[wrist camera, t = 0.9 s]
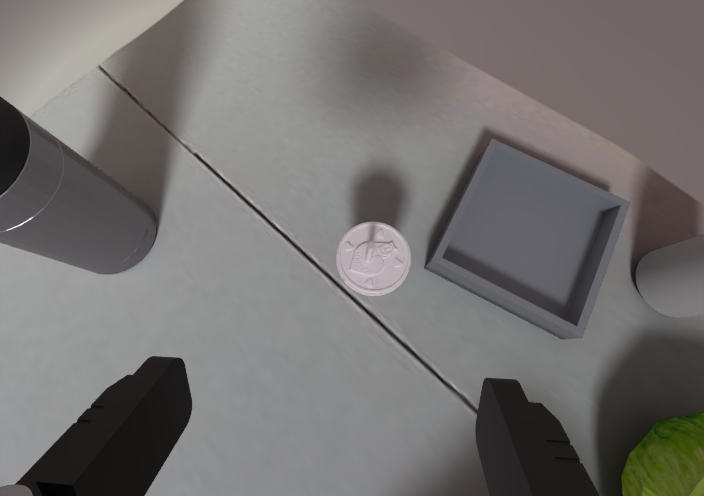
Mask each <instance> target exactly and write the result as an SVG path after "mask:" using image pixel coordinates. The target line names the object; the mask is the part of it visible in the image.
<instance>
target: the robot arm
mask: <svg viewBox="0 0 704 496" xmlns="http://www.w3.org/2000/svg"><path fill="white" fill-rule="evenodd" d="M155 237H156V220H155V218H154V215H153V213H152V211H151V210H150V208H149V207H148V206H147V205H146V204H145V203H144V202H143V201H141V200H140V199H138V198H137V197H136V196H134V195H133V194H132V193H130V192H129V191H128V190H126V189H125V188H124V187H123V186H121V185H120V184H118V183H117V182H116V181H114V180H113V179H112V178H110V177H109V176H108V175H106V174H105V173H104V172H102V171H101V170H99V169H98V168H97V167H95V166H94V165H93V164H91V163H90V162H89V161H87V160H86V159H84V158H83V157H82V156H80V155H79V154H78V153H76V152H75V151H74V150H72V149H71V148H70V147H68V146H67V145H65V144H64V143H63V142H61V141H60V140H59V139H57V138H56V137H55V136H53V135H52V134H51V133H49V132H48V131H46V130H45V129H43V128H42V127H41V126H39V125H38V124H37V123H35V122H34V121H33V120H31V119H30V118H29V117H27V116H26V115H24V114H23V113H22V112H20V111H19V110H18V109H16V108H15V107H14V106H13V105H11V104H10V103H8V102H7V101H6V100H4V99H3V98H2V97H0V243H3V244H6V245H9V246H12V247H16V248H19V249H22V250H25V251H28V252H31V253H35V254H38V255H41V256H44V257H47V258H51V259H54V260H57V261H60V262H63V263H66V264H69V265H72V266H76V267H79V268H82V269H85V270H89V271H92V272H95V273H98V274H115V273H119V272H122V271H126V270H128V269H129V268H131V267H133V266H135V265H136V264H137V263H139V262H140V261H141V260H142V259H143V258H144V257H145V256H146V255H147V254H148V252H149V250H150V249H151V247H152V245H153V243H154V240H155ZM191 411H192V398H191V393H190V388H189V383H188V378H187V373H186V368H185V364H184V361H183V360H182V359H181V358H174V357H158V356H152V357H150V358H148V359H147V360H146V361H145V362H144V363H143V364H142V366H141V367H140V368H139V369H138V370H137V371H136V372H135V373H134V374H133V375H127V376H125V377H124V378H122V379H121V380H119V381H118V382H116V383H115V384H113V385H112V386H110V387H108V388H107V389H106V390H105V391H104V392H103V393H102V394H101V395H100V396H99V397H98V398H97V399H96V401H95V402H94V403H93V404H92V405H91V408H90V409H87V410H86V411H85V412H84V413H83V414H82V415H81V416H80V417H79V418H78V421H77V423H74V424H73V425H72V426H71V427H70V428H69V429H68V430H67V431H66V432H65V433H64V434H63V435H62V436H61V437H60V438H59V439H58V440H57V441H56V442H55V443H54V444H53V445H52V447H51V448H50V449H49V450H48V451H47V452H46V453H45V454H44V455H43V456H42V457H41V458H40V459H39V460H38V461H37V462H36V463H35V464H34V465H33V466H32V467H31V468H30V470H29V471H28V472H27V473H26V474H25V475H24V476H23V477H22V478H21V479H20V480H19V481H18V482H17V483H16V484H15V485H7V486H2V487H0V496H145V494H146V492H147V491H148V489H149V487H150V486H151V484H152V482H153V481H154V479H155V477H156V476H157V474H158V472H159V471H160V469H161V467H162V466H163V464H164V462H165V461H166V459H167V457H168V456H169V454H170V452H171V451H172V449H173V448H174V446H175V444H176V443H177V441H178V439H179V438H180V436H181V434H182V433H183V431H184V429H185V428H186V426H187V424H188V422H189V419H190V416H191ZM476 442H477V448H478V452H479V456H480V459H481V463H482V467H483V471H484V475H485V478H486V482H487V486H488V490H489V493H490V496H599V494H598V492H597V490H596V488H595V487H594V485H593V483H592V481H591V479H590V477H589V475H588V474H587V472H586V470H585V468H584V466H583V464H582V463H580V461H579V457H578V455H577V453H576V451H575V450H574V448H573V446H572V445H570V440H569V439H568V437H567V435H566V433H565V431H564V429H563V427H562V426H561V424H560V422H559V420H558V419H557V418H556V417H555V416H553V415H552V414H551V413H550V412H549V411H548V410H547V409H546V408H545V407H544V406H543V405H542V404H541V403H532V402H528V400H527V398H526V396H525V394H524V391H523V389H522V387H521V385H520V383H519V382H518V381H517V380H514V379H498V378H485V379H484V382H483V386H482V391H481V397H480V403H479V408H478V414H477V419H476Z"/></svg>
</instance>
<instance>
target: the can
mask: <svg viewBox="0 0 704 496" xmlns="http://www.w3.org/2000/svg"><path fill="white" fill-rule="evenodd" d="M636 284H637V287H638V289H639V292H640V294H641V295H642V297H643V298H644V300H645V301H646V302H647V304H649V305H650V306H651V307H652V308H653V309H655V310H656V311H657V312H659V313H662V314H664V315H666V316H669V317H676V318H684V317H694V316H704V234H702V235H699V236H696V237H693V238H690V239H687V240H684V241H681V242H678V243H675V244H672V245H669V246H666V247H663V248H660V249H657V250H654V251H651V252H649V253H648V254H646V255H644V256H643V258H642V259H641V260H640V261H639V263H638V266H637V269H636Z"/></svg>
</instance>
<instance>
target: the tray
mask: <svg viewBox="0 0 704 496" xmlns="http://www.w3.org/2000/svg"><path fill="white" fill-rule="evenodd" d="M629 205H630V202H629V201H627V200H624V199H622V198H620V197H618V196H616V195H614V194H611V193H609V192H607V191H605V190H603V189H601V188H598V187H596V186H594V185H592V184H590V183H588V182H585V181H583V180H581V179H579V178H577V177H575V176H573V175H570V174H568V173H566V172H564V171H562V170H560V169H557V168H555V167H553V166H551V165H549V164H547V163H544V162H542V161H540V160H538V159H536V158H534V157H531V156H529V155H527V154H525V153H523V152H521V151H519V150H516V149H514V148H512V147H510V146H508V145H506V144H503V143H501V142H499V141H497V140H495V139H493V138H492V139H491V140H490V142H489V143H488V145H487V146H486V148H485V149H484V151H483V152H482V154H481V155H480V157H479V159H478V161H477V163H476V165H475V167H474V169H473V171H472V173H471V175H470V177H469V179H468V181H467V183H466V185H465V187H464V189H463V191H462V193H461V196H460V198H459V200H458V202H457V204H456V206H455V208H454V210H453V212H452V214H451V216H450V218H449V220H448V222H447V224H446V226H445V228H444V230H443V232H442V234H441V236H440V238H439V240H438V242H437V244H436V246H435V248H434V250H433V252H432V254H431V256H430V258H429V260H428V262H427V264H426V266H425V269H427V270H429V271H431V272H433V273H435V274H437V275H439V276H441V277H443V278H445V279H446V280H448V281H450V282H452V283H454V284H456V285H458V286H460V287H462V288H464V289H466V290H468V291H470V292H472V293H473V294H475V295H477V296H479V297H481V298H483V299H485V300H487V301H489V302H491V303H493V304H495V305H497V306H499V307H501V308H502V309H504V310H506V311H508V312H510V313H512V314H514V315H516V316H518V317H520V318H522V319H524V320H526V321H528V322H529V323H531V324H533V325H535V326H537V327H539V328H541V329H543V330H545V331H547V332H549V333H551V334H553V335H555V336H557V337H558V338H560V339H573V338H582V337H583V334H584V331H585V329H586V326H587V323H588V320H589V317H590V315H591V312H592V309H593V306H594V303H595V300H596V298H597V295H598V292H599V289H600V286H601V284H602V281H603V278H604V275H605V272H606V270H607V267H608V264H609V261H610V258H611V255H612V253H613V250H614V247H615V244H616V241H617V239H618V236H619V233H620V230H621V227H622V224H623V222H624V219H625V216H626V213H627V210H628V208H629Z"/></svg>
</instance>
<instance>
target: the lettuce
mask: <svg viewBox="0 0 704 496" xmlns="http://www.w3.org/2000/svg"><path fill="white" fill-rule="evenodd" d="M621 479H622V491H623V496H704V412H701V413H693V414H687V415H683V416H678V417H674V418H669V419H665V420H660V421H657V423H656V424H655V425H654V426H653V428H652V429H651V430H650V431H649V433H648V434H647V435H646V436H645V438H644V439H643V440H642V441H641V442H640V443H639V444H638V445H637V446H636V447H635V448H634V449H633V450H632V451H631V452H630V454H629V455H628V459H627V462H626V465H625V468H624V471H623V474H622V477H621Z"/></svg>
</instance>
